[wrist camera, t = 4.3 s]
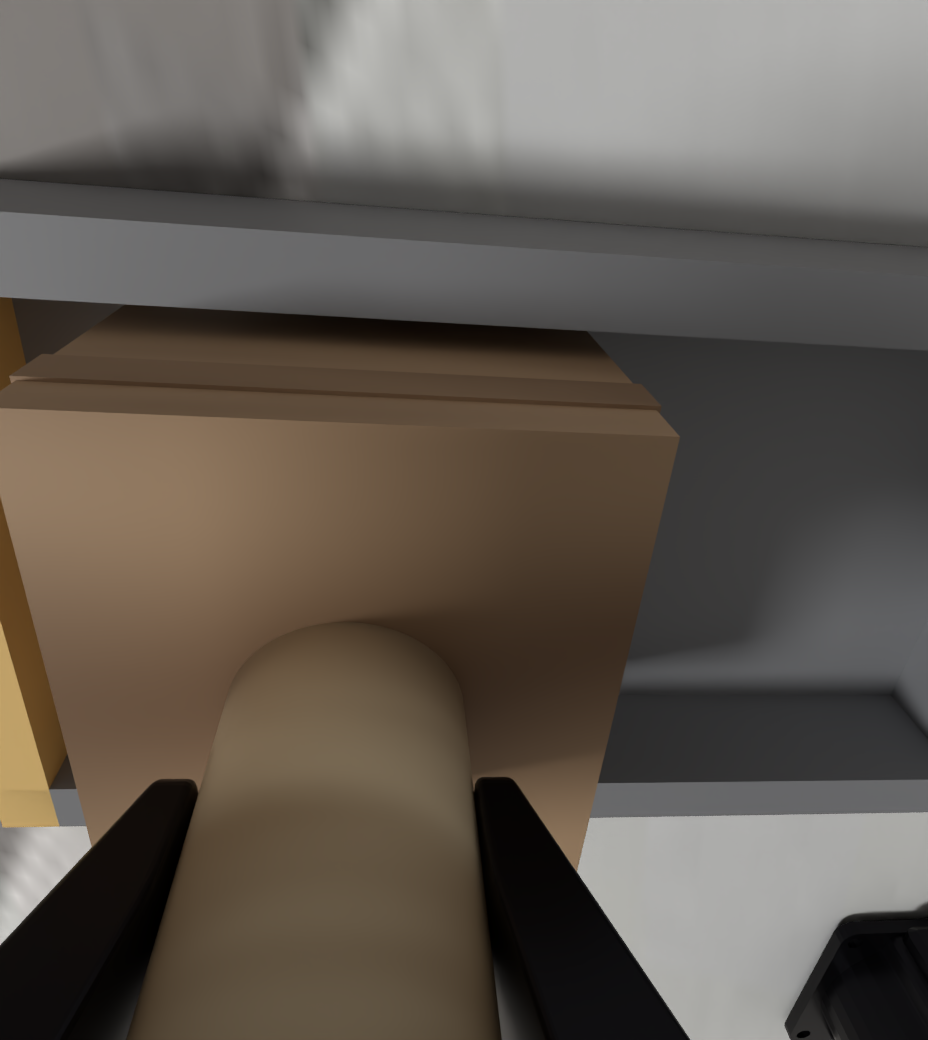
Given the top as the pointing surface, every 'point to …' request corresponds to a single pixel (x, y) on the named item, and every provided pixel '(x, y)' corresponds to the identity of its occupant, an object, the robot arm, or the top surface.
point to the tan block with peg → (331, 633)
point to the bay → (692, 487)
